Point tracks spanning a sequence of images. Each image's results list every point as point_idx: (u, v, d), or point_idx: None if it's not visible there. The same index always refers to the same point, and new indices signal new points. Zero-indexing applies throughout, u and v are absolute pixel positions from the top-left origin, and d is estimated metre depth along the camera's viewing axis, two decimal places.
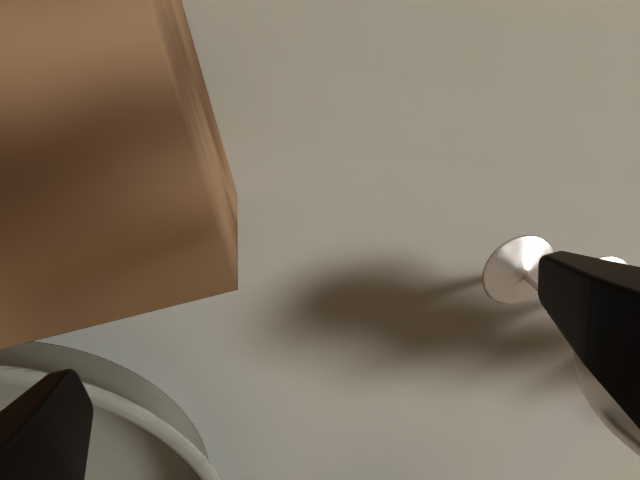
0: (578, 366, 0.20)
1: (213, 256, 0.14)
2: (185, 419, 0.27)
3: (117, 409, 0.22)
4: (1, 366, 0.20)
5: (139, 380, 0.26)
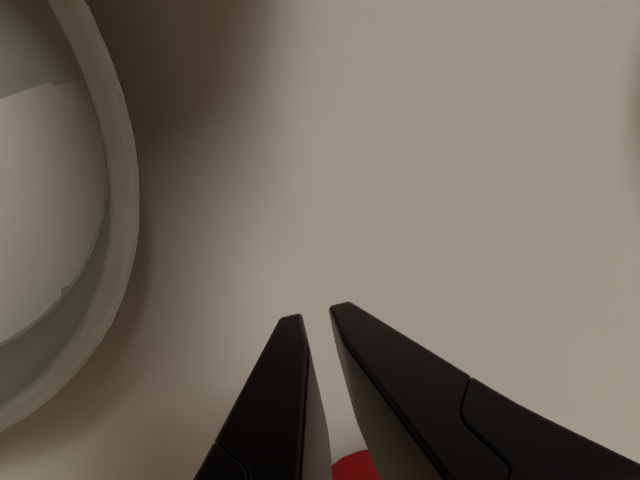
0: None
1: None
2: None
3: None
4: None
5: None
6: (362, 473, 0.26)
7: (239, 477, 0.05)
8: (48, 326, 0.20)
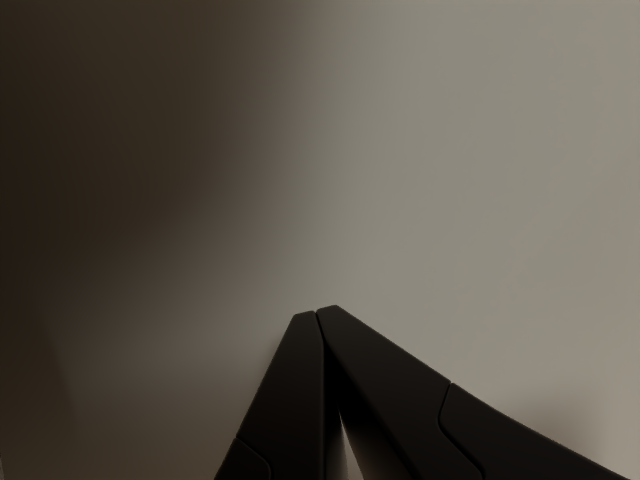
0: None
1: None
2: None
3: None
4: None
5: None
6: None
7: (262, 471, 0.05)
8: None
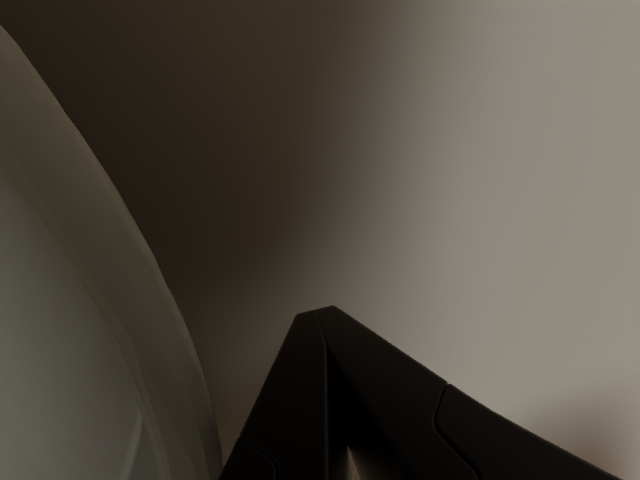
0: None
1: None
2: None
3: None
4: None
5: None
6: None
7: (267, 470, 0.05)
8: None
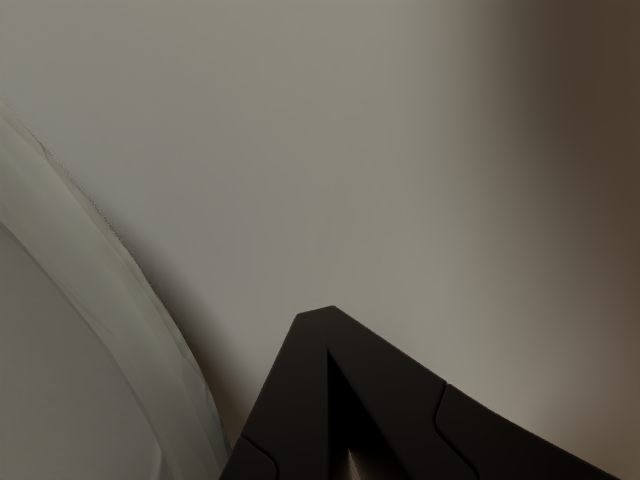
0: None
1: None
2: None
3: None
4: None
5: None
6: None
7: (268, 469, 0.05)
8: None
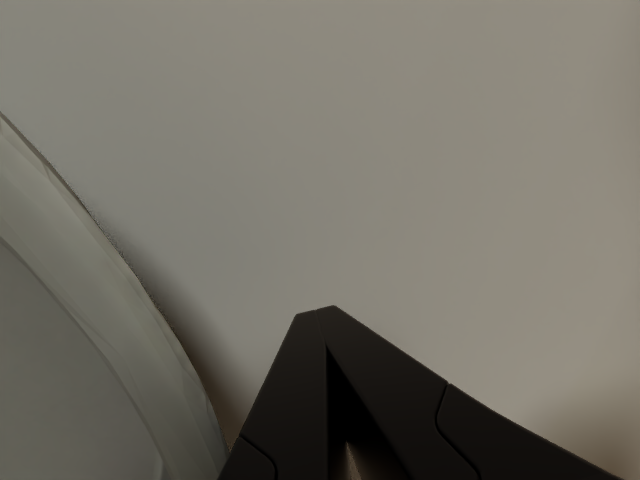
0: None
1: None
2: None
3: None
4: None
5: None
6: None
7: (267, 470, 0.05)
8: None
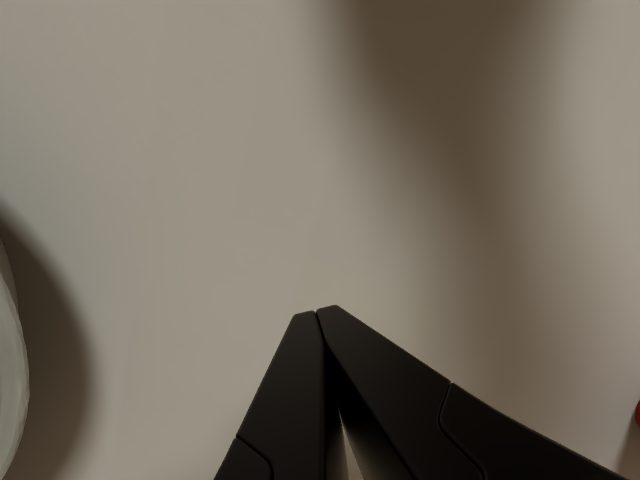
0: None
1: None
2: None
3: None
4: None
5: None
6: None
7: (263, 471, 0.05)
8: None
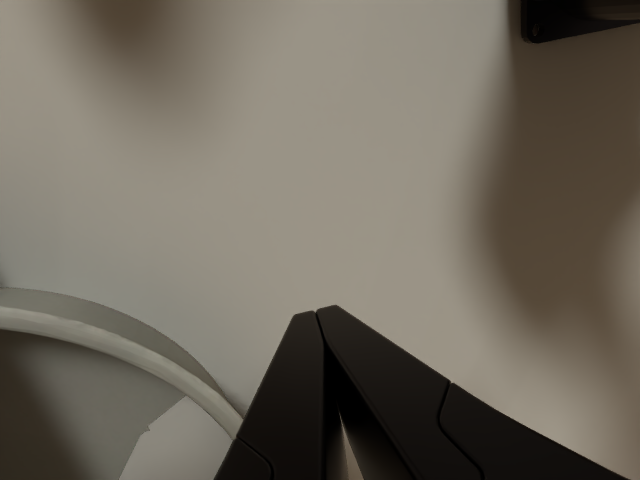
0: None
1: None
2: None
3: None
4: None
5: None
6: None
7: (263, 471, 0.05)
8: None
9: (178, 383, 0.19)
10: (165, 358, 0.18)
